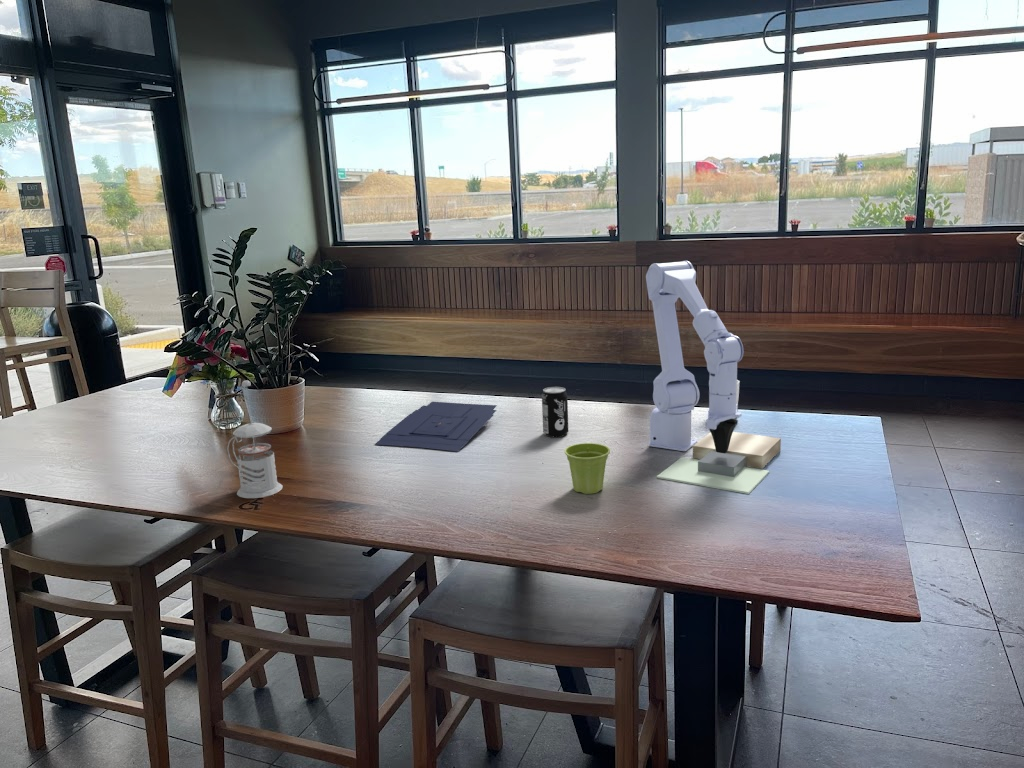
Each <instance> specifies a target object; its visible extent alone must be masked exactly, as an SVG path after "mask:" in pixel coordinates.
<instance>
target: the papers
mask: <svg viewBox="0 0 1024 768" xmlns="http://www.w3.org/2000/svg"><path fill="white" fill-rule="evenodd" d="M496 407H498V404H479V403H478V404H477V403H476V404H475V403H463V402H461V403H459V402H445V401H431V402H430V403H428V404H427V405H421V406H420V407H419V408H417V409H415V410H414V411H412V412H411V413H409V414H408V415H406V417H404V418H403V419H402V420H400V421H399V422H398V423H397V424H395V426H393V427H392V428H391V429H389V431H387V432H385V434H384V435H383V436H382V437H381V438H379V440H378V441H376V443H375V446H376V445H379V446H393V447H394V446H395V447H411V448H412V447H413V448H422V449H423V448H424V449H433V450H439V451H440V450H441V451H450V452H459V451H460V450H462V448H463V447H465V446H466V445H467V444H468V443H469V441H470V440H471V439H472V438H473V437H474V436H475V435H476V434H477V432H479V431H480V430H481V428H482V427H484V426H485V424H487V422H489V421H490V420H491V419H492V418H493V416H494V414H495V413H496V412H497V409H496Z"/></svg>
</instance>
